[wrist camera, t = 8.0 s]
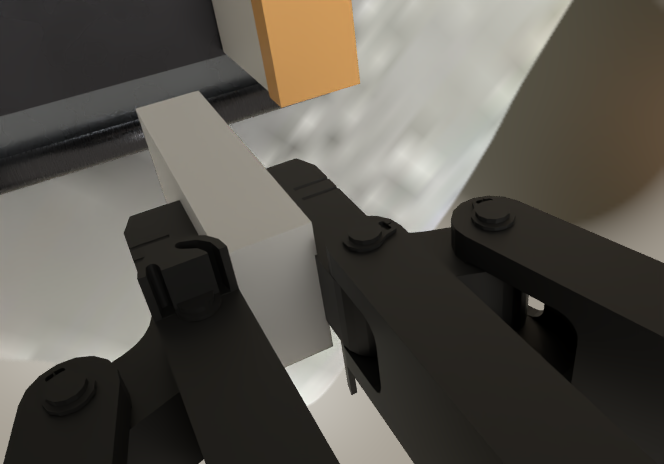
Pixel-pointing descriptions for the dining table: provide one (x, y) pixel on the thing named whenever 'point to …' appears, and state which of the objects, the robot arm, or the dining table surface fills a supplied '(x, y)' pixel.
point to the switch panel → (105, 79)
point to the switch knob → (291, 45)
